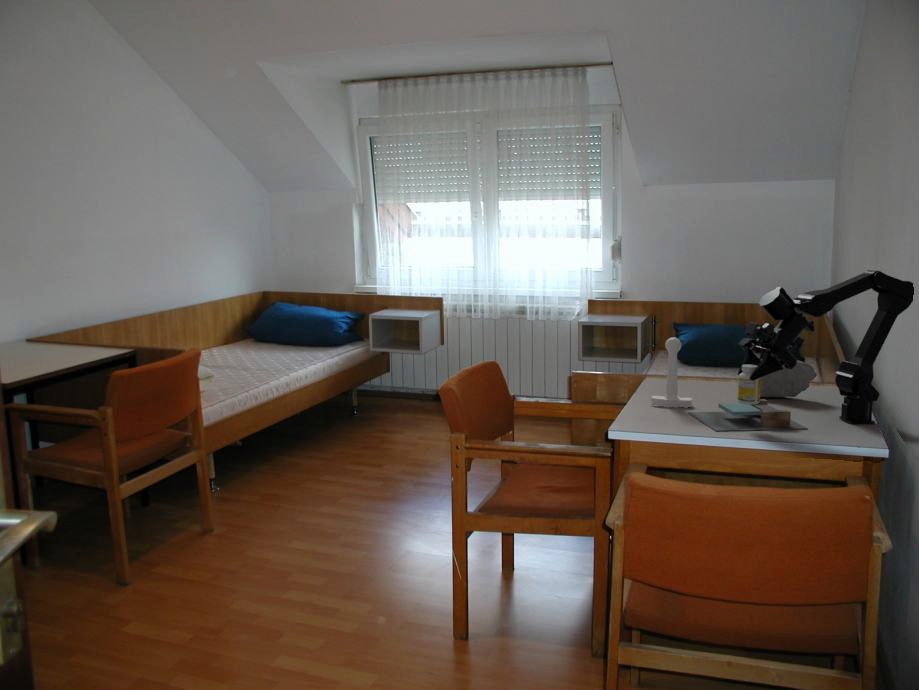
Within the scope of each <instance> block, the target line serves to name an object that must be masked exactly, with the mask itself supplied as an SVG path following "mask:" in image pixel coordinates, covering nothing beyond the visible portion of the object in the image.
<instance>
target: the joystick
mask: <svg viewBox="0 0 919 690" xmlns="http://www.w3.org/2000/svg"><path fill="white" fill-rule="evenodd" d="M664 345H665V346H664V347H665V349H666V350H667V353H668V360H667V361H668V363H667V373H666V385H665V394H664V395H665V396H659V395H652V396H651V401H650V402H651V406H652V405H657V406H656V407H659V406H665V407H664V408H669V407H684V408H683V409H689V408H688V407H691V408H692V405H693V404H692V401H693V398H692V397H680V395H679V386H678V385H679V383H678V353H679V352H680V350H681V348H682V341H680V339H679V338H677V337H674V336H673V337H670V338H668V339H667V340H666V341H665V344H664Z"/></svg>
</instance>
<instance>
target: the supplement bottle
mask: <svg viewBox="0 0 919 690" xmlns="http://www.w3.org/2000/svg"><path fill="white" fill-rule="evenodd" d="M741 365H742V364H741ZM756 368H757V365H750V364H746V365H742V371H743V373H741V374H740V375H738V387H737V388H738V390H737V396H738V397H737V403H742V404H749V405H753V404H758V403H759V402H760V399H761V397H760V387H761V378H758V379H756V380H753V381H752V380H751V379H750V376H751V374H752V373H753V372H754V370H755V369H756Z"/></svg>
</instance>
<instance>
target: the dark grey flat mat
mask: <svg viewBox="0 0 919 690" xmlns="http://www.w3.org/2000/svg"><path fill="white" fill-rule="evenodd" d="M765 404H767V405H769V400H767V399H765V398H762V399H761V398H760V402H759V403H758V404H753V405H765ZM753 405H751V406H753ZM688 413H689V415H690V416H691V415H692V417H693V418H694V417H695V419H696V420H697V419H698V421H699V422H700V423H702V424H704V425H705V426H707V427H708V428H710V429H711V430H713V431H714V432H715V433H716V432H717V433H719V432H754V431H757V432H758V430H761V431H790V430H791V431H792V430H793V431H795V430H800V429H801V430H808V427H806V426H804V425H802V424H801V423H799V422H796V421H794V420H793V419H791V414H792V412H791V411H790V410H788V409H786V410H785V409H781V410H780V409H777V410H767V411H761V416H759V415H738V416H733V415H731V414H730V413H728V412H726V411H725V410H723V411H689V412H688ZM801 430H800V431H801Z"/></svg>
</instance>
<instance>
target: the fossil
mask: <svg viewBox="0 0 919 690" xmlns="http://www.w3.org/2000/svg"><path fill="white" fill-rule="evenodd" d="M790 353H791V354H792V352H791V351H790ZM760 360H761V361H762V359H760ZM784 365H785V364H784ZM784 365H783V366H782V367H783V368H784V369H783V370H779V371H776V372H773V373H771V374H768V375H765V376H763V377H761V387H760V398H776V397H777V398H787V397H788V398H795V397H796V398H797V396H799V394H801V393H802V392H804V391H806V390H807V389H808V388H810V383H811V381H813V380H814V379H815V378H816V377H817V376H818V374H817V373H816V371H815V368H814V367H813V366H812V365H811V364H809V363H807V362H803V361H801V360H799V359H797V365H796V366H795V367H794V368H793V369H792V370H789V369H786V368H785V367H784Z"/></svg>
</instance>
